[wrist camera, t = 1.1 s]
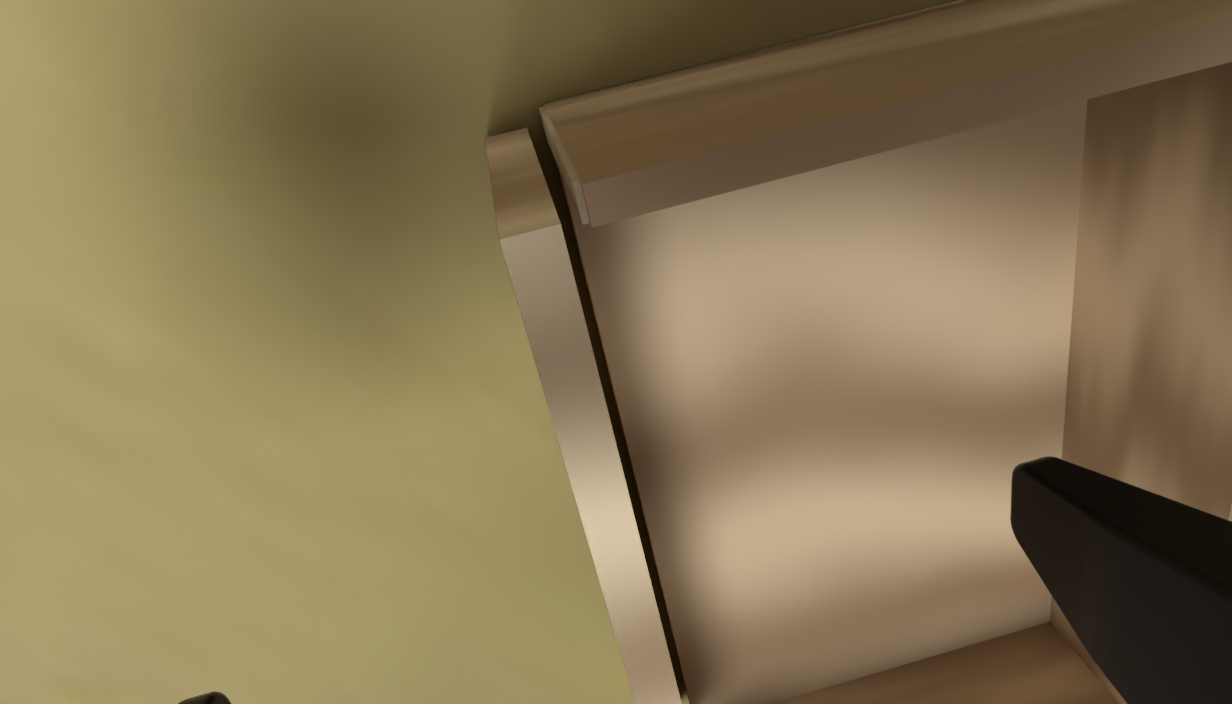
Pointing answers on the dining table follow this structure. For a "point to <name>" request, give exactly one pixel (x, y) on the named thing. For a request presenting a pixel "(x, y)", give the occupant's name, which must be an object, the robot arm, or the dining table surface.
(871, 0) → the dining table surface
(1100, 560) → the robot arm
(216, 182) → the dining table surface
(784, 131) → the carton
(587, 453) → the flap
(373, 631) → the dining table surface
